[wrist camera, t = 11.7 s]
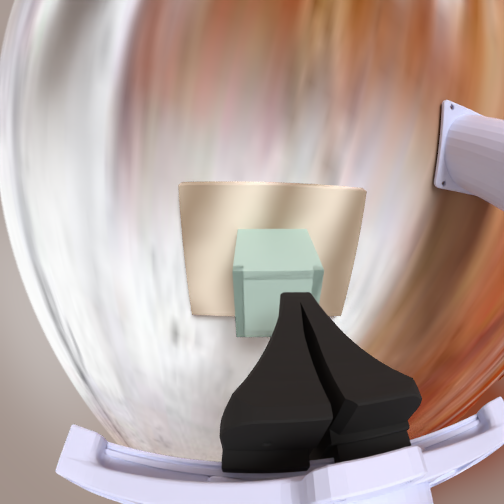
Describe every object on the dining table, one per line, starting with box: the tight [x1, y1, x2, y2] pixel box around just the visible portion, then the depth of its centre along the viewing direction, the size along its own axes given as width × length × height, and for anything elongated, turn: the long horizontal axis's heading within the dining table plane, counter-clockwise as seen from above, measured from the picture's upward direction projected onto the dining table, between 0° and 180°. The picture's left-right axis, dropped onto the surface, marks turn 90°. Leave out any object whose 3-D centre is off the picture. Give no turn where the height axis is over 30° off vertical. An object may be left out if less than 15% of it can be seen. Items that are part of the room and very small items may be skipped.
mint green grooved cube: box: [232, 229, 324, 337], centre depth 19 cm, size 5×5×6 cm
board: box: [178, 182, 367, 316], centre depth 20 cm, size 14×12×6 cm
